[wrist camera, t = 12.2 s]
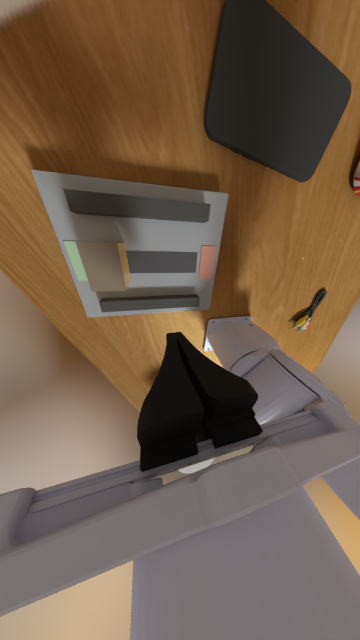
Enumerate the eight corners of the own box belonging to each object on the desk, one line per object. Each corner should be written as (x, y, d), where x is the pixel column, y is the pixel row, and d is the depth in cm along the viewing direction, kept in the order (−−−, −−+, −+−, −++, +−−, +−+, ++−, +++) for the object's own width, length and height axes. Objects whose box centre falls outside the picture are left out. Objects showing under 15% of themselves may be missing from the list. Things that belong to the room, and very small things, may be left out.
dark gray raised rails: (205, 207, 14) (210, 203, 13) (195, 302, 20) (198, 306, 19) (71, 194, 12) (63, 188, 10) (105, 307, 17) (101, 312, 16)
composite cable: (319, 287, 27) (333, 290, 25) (329, 294, 28) (344, 298, 26) (285, 325, 31) (295, 331, 29) (296, 329, 32) (306, 335, 30)
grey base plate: (220, 198, 16) (229, 193, 14) (205, 304, 23) (209, 309, 21) (47, 179, 12) (29, 168, 10) (93, 310, 19) (87, 317, 18)
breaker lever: (124, 243, 14) (116, 243, 11) (130, 280, 16) (125, 290, 13) (94, 242, 14) (75, 241, 10) (105, 280, 16) (91, 291, 12)
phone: (308, 184, 16) (203, 132, 12) (302, 187, 17) (200, 138, 13) (356, 85, 13) (231, -36, 9) (346, 92, 14) (225, -16, 10)
